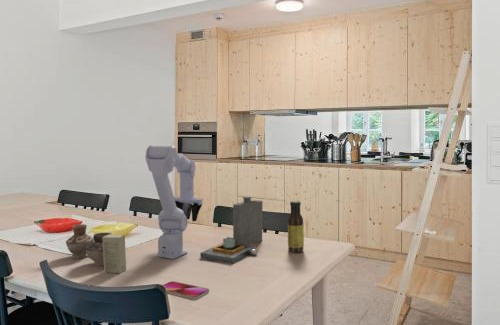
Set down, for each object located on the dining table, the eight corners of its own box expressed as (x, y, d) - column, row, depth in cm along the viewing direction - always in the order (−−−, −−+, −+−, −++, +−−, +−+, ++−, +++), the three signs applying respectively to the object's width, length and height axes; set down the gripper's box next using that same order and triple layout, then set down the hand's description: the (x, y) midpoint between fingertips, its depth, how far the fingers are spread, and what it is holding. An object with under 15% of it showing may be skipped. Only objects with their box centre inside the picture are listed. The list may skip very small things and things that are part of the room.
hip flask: (236, 247, 168) (236, 199, 166) (230, 245, 171) (230, 198, 169) (263, 240, 179) (263, 195, 177) (257, 238, 182) (257, 194, 180)
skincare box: (126, 269, 139) (126, 234, 138) (120, 273, 135) (119, 237, 134) (109, 268, 140) (108, 233, 139) (102, 272, 136) (101, 236, 135)
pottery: (85, 251, 161) (85, 221, 161) (125, 262, 147) (125, 230, 146) (58, 258, 152) (57, 226, 152) (98, 271, 138) (97, 236, 137)
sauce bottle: (306, 251, 161) (307, 202, 160) (294, 254, 158) (295, 203, 156) (296, 247, 167) (296, 199, 165) (284, 250, 163) (284, 201, 162)
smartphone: (171, 280, 127) (210, 289, 120) (171, 283, 127) (210, 292, 120) (155, 288, 121) (195, 297, 113) (155, 291, 121) (195, 301, 113)
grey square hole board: (239, 264, 144) (239, 256, 144) (200, 258, 152) (200, 250, 152) (262, 252, 160) (262, 244, 160) (225, 246, 168) (225, 239, 168)
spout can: (231, 256, 154) (231, 238, 154) (221, 255, 156) (221, 237, 156) (236, 253, 158) (236, 235, 158) (226, 252, 160) (226, 234, 160)
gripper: (206, 188, 170) (206, 219, 171) (178, 185, 177) (179, 216, 178) (196, 190, 164) (197, 223, 165) (168, 187, 171) (168, 219, 172)
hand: (187, 220), depth 171 cm, fingers open, 7 cm apart
